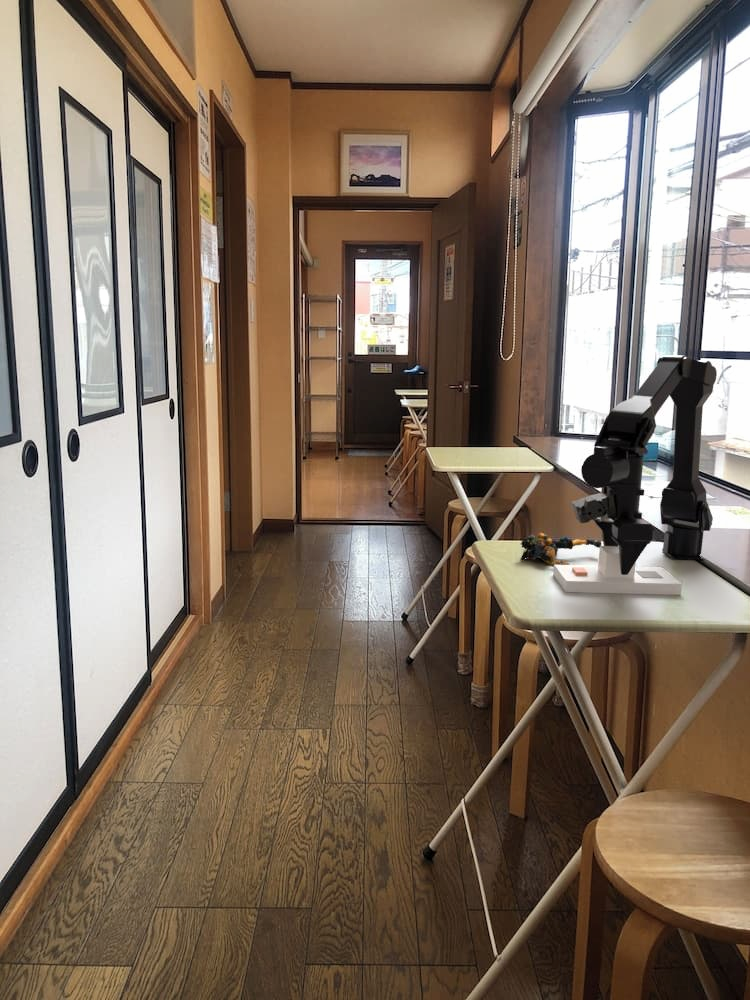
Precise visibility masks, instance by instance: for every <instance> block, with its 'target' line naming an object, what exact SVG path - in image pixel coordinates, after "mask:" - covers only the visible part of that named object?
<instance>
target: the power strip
mask: <svg viewBox="0 0 750 1000" xmlns="http://www.w3.org/2000/svg"><path fill="white" fill-rule="evenodd" d="M552 572H553V577H554V578H555V579H556V581H557V583H559V585H560V587H562V589H563V590H564V592H565V593H588V594H589V593H591V594H592V593H593V594H595V593H596V594H628V595H630V594H631V595H633V594H635V595H662V596H663V595H664V596H665V595H669V596H674V595H675V596H681V595H682V582H680V581H679V580H678V579H677V578H675V576H673V575H672V574H671V573H669V572H668V571H667V570H666V569H665V568H663V567H661V566H655V567H654V566H635V575H634V578H610V577H604V576H603V575H602V574H601V573H600V572H599V571H598V565H587V564H586V565H585V564H583V565H579V564H574V565H573V564H569V565H553V571H552Z"/></svg>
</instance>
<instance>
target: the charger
mask: <svg viewBox="0 0 750 1000" xmlns="http://www.w3.org/2000/svg"><path fill="white" fill-rule="evenodd" d="M636 562H637V561H636ZM636 562H635V564H634V565H633V567H632V568H631V570H630V572H629V573H628V574H627V575H622V574H621V570H620V556H619V546H604V545H601V546H600V548H599V552H598V563H597V564H598V565H597V566H598V571H599V572H600V573H601V574H602V575H603V576H604V577H610V578H634V575H635V567H636V565H637V563H636Z"/></svg>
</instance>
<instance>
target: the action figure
mask: <svg viewBox="0 0 750 1000" xmlns="http://www.w3.org/2000/svg"><path fill="white" fill-rule="evenodd" d="M582 545H586V546H589V545H591V546H594V547H595V548H599V549H600V546H602V541H600V540H597V539H583V540H582V539H573V540H572V539H570V538H569V537H568V536H564V537H561V538H559V540H555V539H551V538H550V536H548V535H547V534H545V533H543V532H539V533H538V534H537V536H536V535H535V534H534V533H531V534H530V535H528V536H527V538H523V540H521V543H520V546H521V548H524V549H525V551H523V552H522V555H521V557H520V561H521V560H524V561H525V560H526V559H525V558H527V557H528V558H527V559H529V560H536V559H537V558H540V560H542V561H544V562H545V563H546V564H548V565H551V566H554V565H570V563H569V562H568V561H563V559H561V560H556V559H555V558H556V557H557V554H558V552H559V550H560V549H564V550H567V549H568V550H572V549H573V548H574V547H577V546H582Z"/></svg>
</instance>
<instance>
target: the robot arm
mask: <svg viewBox="0 0 750 1000" xmlns="http://www.w3.org/2000/svg"><path fill="white" fill-rule="evenodd" d="M717 373H718V372H717V369H716V367H715V365H713V363H712V362H711V361H710V360H697V359H693V358H690V357H687V356H686V355H677V354H676V355H675V354H664V355H663V356H662V355H661V356H660V357H659V358H658V360H657V362H656V366H655V368H654V369H653V370H652V371H651V373H650V374H649V376H648V377H647V378H646V379H645V380H644V382H643V383H642V385H641V386H640V387H639V388H638V390H637V391H636V393H635V394H634V395H633V396H632V397H631V398H629V399H626V400H624V401H621V402H619V403H618V404H617V405H616V406H615V407H614V408H612V409H611V410H610V411H609V413H608V414H607V415H606V417H605V419H604V422H603V423H602V426H601V429H600V431H599V434H598V435H597V438H596V440H595V442H594V447H593V454H591V455H589V456H588V457H586V458H585V459H584V461H583V463H582V465H581V468H580V469H581V476H582V479H583V481H584V482H585V483H586V484H587V485H588V486H589V487H590V488H593V489H601V491H600V492H599V493H596V494H591V495H587V496H584V497H582V498H578V499H576V500H573V501H571V506H572V508H573V512H574V516H575V519H576V520H578V521H579V523H580V524H586V523H590V522H591V521H592V522H593V523H594V524H595V525H596V526H597V527H598V528H599V530H600V532H601V537H602V542H603V546H619V556H620V570H621V574H622V575H627V574H628V573H629V572H630V570H631V568H632V567H633V565H634V564H635V562H637V560H638V559H639V557H640V556H641V554H642V553H643V552H644V550H645V549H646V547H647V546H648V545H650V544H651V542H652V541H654V540H655V535H656V529H655V528H654V526H652V524H651V523H650V522H648V521H647V520H645V519H643V512H641V511H640V502H641V499H640V498H641V496H644V495H645V489H644V488H642V479H643V477H642V476H643V470H644V467H643V466H644V457H645V456H644V455H647V454H648V453H649V450H648V448H647V447H646V446H648V444H649V441H650V440H651V438H652V436H653V435H654V434H655V430H656V428H657V423H656V418H655V417H656V415H657V414H658V413H659V411H660V409H661V408H662V407H663V405H665V404H664V403H665V402H666V401H667V400H668V398H669V397H670V398H671V400H672V402H673V404H674V405H675V409H676V410H675V411H676V412H675V427H674V446H673V447H674V448H673V449H674V450H673V461H672V462H673V464H672V465H673V466H672V467H673V468H672V477H671V478H672V479H671V480H670V482H669V483H668V484H667V485H666V487H664V488H663V489H662V492H661V500H660V502H659V503H660V505H659V507H660V509H659V510H660V523H661V524H660V525H667V530H666V531H664V536H663V546H662V548H661V549H662V550H661V551H662V552H663V553H664V554H666V555H667V556H668V557H670V558H671V559H673V560H674V559H676V560H702V559H701V557H700V556H699V555H700V554H701V555H702V548H703V539H704V532H709V531H711V528H712V525H713V519H714V518H713V515H712V512H711V509H710V506H709V503H708V502H707V490H706V488H705V486H704V485H703V483H702V481H701V480H700V475H699V473H700V472H699V471H700V461H701V460H700V459H701V458H700V456H701V442H702V441H701V439H702V438H701V437H702V425H703V424H702V423H703V408H704V404H705V403H706V402H707V400H708V399H709V398H710V396H711V395H712V393H713V392H714V385H715V383H716V381H717ZM635 565H636V564H635Z"/></svg>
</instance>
